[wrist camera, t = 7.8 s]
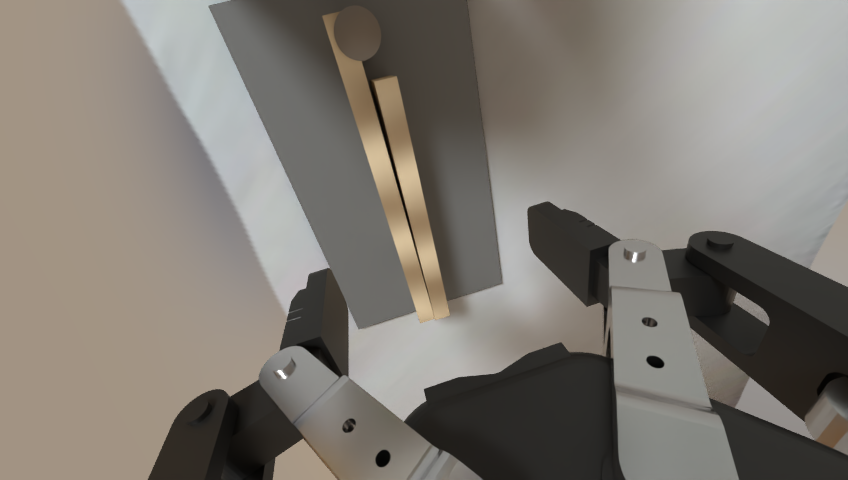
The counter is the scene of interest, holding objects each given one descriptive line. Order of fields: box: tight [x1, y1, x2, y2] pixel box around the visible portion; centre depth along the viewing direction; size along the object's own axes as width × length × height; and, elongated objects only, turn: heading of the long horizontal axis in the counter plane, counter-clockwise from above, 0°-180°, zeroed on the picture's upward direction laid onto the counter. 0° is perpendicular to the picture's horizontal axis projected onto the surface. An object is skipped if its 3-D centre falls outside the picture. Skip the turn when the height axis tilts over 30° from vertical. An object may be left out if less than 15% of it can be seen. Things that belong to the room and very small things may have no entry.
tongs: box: [322, 5, 435, 323], centre depth 25 cm, size 24×3×4 cm, turn 15°
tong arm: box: [370, 75, 450, 320], centre depth 26 cm, size 20×1×4 cm, turn 14°
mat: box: [209, 0, 502, 329], centre depth 27 cm, size 28×16×1 cm, turn 15°
